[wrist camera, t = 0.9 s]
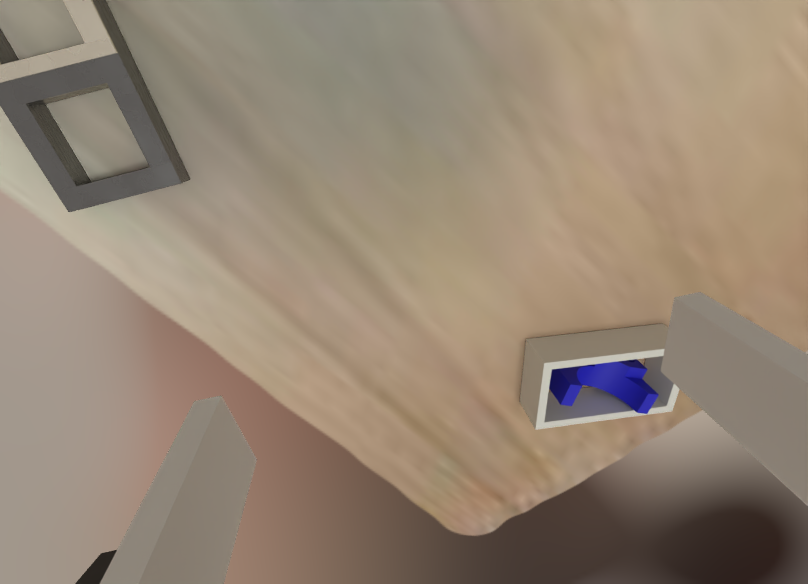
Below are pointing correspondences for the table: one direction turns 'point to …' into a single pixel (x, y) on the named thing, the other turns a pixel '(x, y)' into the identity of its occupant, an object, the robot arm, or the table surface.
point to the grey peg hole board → (75, 75)
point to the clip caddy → (590, 351)
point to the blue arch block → (605, 383)
